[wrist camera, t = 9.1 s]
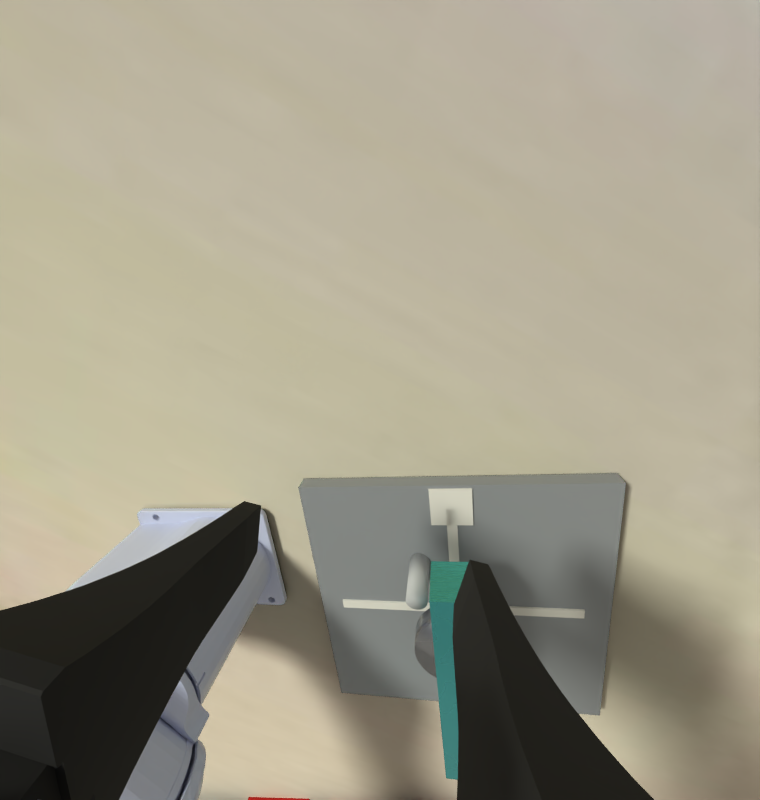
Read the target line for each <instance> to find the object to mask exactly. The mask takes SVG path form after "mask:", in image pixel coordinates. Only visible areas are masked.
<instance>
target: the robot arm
mask: <svg viewBox="0 0 760 800" xmlns="http://www.w3.org/2000/svg"><path fill="white" fill-rule="evenodd" d="M137 516H138V520H139V522H140V525H139V526H138V527H137V528H136V529H135V530H134V531H132V532H131V533H130V534H129V535H128V536H127V537H126V538H124V539H123V540H122V541H121V542H120V543H119V544H118V545H116V546H115V547H114V548H113V549H112V550H111V551H110V552H109V553H107V554H106V555H105V556H104V557H103V558H102V559H101V560H99V561H98V562H97V563H96V564H95V565H94V566H93V567H91V568H90V569H89V570H88V571H87V572H86V573H85V574H83V575H82V576H81V577H80V578H79V579H78V580H77V581H76V582H74V583H73V584H72V585H71V586H70V587H69V588H68V589H67V590H66V591H65V592H63V593H60V594H56V595H53V596H50V597H47V598H44V599H41V600H37V601H34V602H31V603H27V604H23V605H19V606H16V607H12V608H8V609H5V610H1V611H0V800H198V798H199V795H200V791H201V787H202V783H203V775H204V768H205V760H206V751H205V747H204V745H203V743H202V742H201V741H199V740H198V737H199V735H200V733H201V731H202V729H203V727H204V725H205V723H206V721H207V719H208V717H209V713H208V712H207V711H206V710H205V709H204V708H203V707H202V706H201V705H202V703H203V701H204V699H205V698H206V696H207V694H208V692H209V690H210V688H211V687H212V685H213V683H214V681H215V679H216V677H217V675H218V674H219V672H220V670H221V668H222V666H223V664H224V662H225V661H226V659H227V657H228V655H229V653H230V651H231V650H232V648H233V646H234V644H235V642H236V640H237V638H238V637H239V635H240V633H241V631H242V629H243V627H244V626H245V624H246V622H247V620H248V618H249V616H250V614H251V613H252V611H253V609H254V607H255V605H256V604H266V605H283V604H284V603H285V601H286V599H287V596H286V592H285V588H284V584H283V580H282V576H281V572H280V568H279V564H278V560H277V556H276V551H275V547H274V543H273V539H272V535H271V531H270V527H269V523H268V519H267V515H266V513H265V511H264V510H262V509H261V506H260V505H256V504H253V503H249V502H245V501H244V502H242V503H241V504H239V505H237V506H236V507H234V508H144V509H142V510H141V511H139V512H138V514H137ZM272 597H273V598H272ZM452 638H453V654H454V669H455V683H456V698H457V712H458V788H457V800H654V799H653V798H652V797H651V796H650V795H649V794H648V793H647V792H646V791H645V790H644V789H643V788H642V787H641V786H640V785H639V784H638V783H637V782H636V781H635V780H634V778H633V777H632V776H631V775H630V774H629V773H628V772H627V771H626V770H625V769H624V767H623V766H622V765H621V764H620V763H619V762H618V761H617V760H616V758H615V757H614V756H613V755H612V754H611V753H610V752H609V751H608V749H607V748H606V747H605V746H604V745H603V744H602V742H601V741H600V740H599V739H598V738H597V736H596V735H595V734H594V733H593V732H592V730H591V729H590V728H589V727H588V725H587V724H586V723H585V722H584V720H583V719H582V718H581V717H580V715H579V714H578V713H577V712H576V710H575V709H574V708H573V706H572V705H571V704H570V702H569V701H568V700H567V698H566V697H565V696H564V694H563V693H562V692H561V690H560V689H559V687H558V686H557V685H556V683H555V682H554V680H553V679H552V677H551V676H550V675H549V673H548V672H547V670H546V669H545V667H544V666H543V664H542V662H541V661H540V659H539V658H538V656H537V654H536V653H535V651H534V650H533V648H532V646H531V645H530V643H529V641H528V640H527V638H526V636H525V634H524V633H523V631H522V629H521V627H520V625H519V624H518V622H517V620H516V618H515V616H514V615H513V613H512V611H511V609H510V607H509V605H508V603H507V601H506V599H505V597H504V595H503V593H502V591H501V589H500V587H499V585H498V583H497V581H496V579H495V577H494V575H493V572H492V570H491V568H490V567H489V565H488V564H485V563H481V562H477V561H474V560H469V562H468V565H467V568H466V571H465V574H464V577H463V580H462V583H461V585H460V588H459V591H458V594H457V597H456V600H455V603H454V611H453V636H452Z"/></svg>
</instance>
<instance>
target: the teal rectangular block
mask: <svg viewBox="0 0 760 800" xmlns="http://www.w3.org/2000/svg"><path fill="white" fill-rule="evenodd" d="M467 565H468V562H450V561H431V573H430V597H429V603H430V608H429V609H428V610H426V611H425V612H424V613H423V614H422V615H421V616H420V618H419V619H418V622H417V625H416V634H415V655H416V658H417V660H418V662H419V663H420V665H421V666H422V667H423V668H424V669H425V670H426V671H427V672H428V673H429V674H431V675H432V676H434V677H436V678H437V687H438V697H439V708H440V718H441V729H442V739H443V749H444V760H445V770H446V778H448V779H457V780H458V712H457V698H456V683H455V669H454V654H453V638H452V636H453V611H454V603H455V600H456V597H457V594H458V591H459V588H460V585H461V583H462V580H463V577H464V574H465V571H466V568H467Z"/></svg>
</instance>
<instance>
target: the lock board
mask: <svg viewBox="0 0 760 800" xmlns="http://www.w3.org/2000/svg"><path fill="white" fill-rule="evenodd" d="M625 487H626V483H625V481H624V480H623V479H622V478H621V476H620V475H619V474H618V473H599V474H541V475H484V476H426V477H368V478H311V479H303V481H302V483H301V484H300V486H299V487H298V488H299V493H300V497H301V502H302V507H303V512H304V516H305V521H306V526H307V531H308V535H309V540H310V545H311V550H312V554H313V559H314V564H315V569H316V573H317V578H318V583H319V587H320V592H321V597H322V602H323V606H324V611H325V616H326V621H327V625H328V630H329V635H330V640H331V644H332V649H333V654H334V659H335V663H336V668H337V673H338V678H339V682H340V687H341V692H342V693H351V694H363V695H374V696H385V697H397V698H408V699H419V700H431V701H439V697H438V687H437V678H436V677H434V676H432V675H431V674H429V673H428V672H427V671H426V670H425V669H424V668H423V667H422V666H421V665H420V663H419V662H418V660H417V658H416V655H415V634H416V625H417V622H418V619H419V618H420V616H421V615H422V614H423V613H424V612H425V611H426V610H428V609H429V608H430V603H429V597H430V573H431V561H450V562H469V560H474V561H477V562H481V563H485V564H488V565H489V567H490V568H491V570H492V572H493V575H494V577H495V579H496V581H497V583H498V585H499V587H500V589H501V591H502V593H503V595H504V597H505V599H506V601H507V603H508V605H509V607H510V609H511V611H512V613H513V615H514V616H515V618H516V620H517V622H518V624H519V625H520V627H521V629H522V631H523V633H524V634H525V636H526V638H527V640H528V641H529V643H530V645H531V646H532V648H533V650H534V651H535V653H536V654H537V656H538V658H539V659H540V661H541V662H542V664H543V666H544V667H545V669H546V670H547V672H548V673H549V675H550V676H551V677H552V679H553V680H554V682H555V683H556V685H557V686H558V687H559V689H560V690H561V692H562V693H563V694H564V696H565V697H566V698H567V700H568V701H569V702H570V704H571V705H572V706H573V708H574V709H575V710H576V712H577V713H578V714H589V715H600V709H601V700H602V691H603V682H604V673H605V664H606V656H607V647H608V638H609V629H610V620H611V611H612V602H613V593H614V585H615V576H616V567H617V558H618V549H619V540H620V531H621V522H622V513H623V505H624V496H625Z"/></svg>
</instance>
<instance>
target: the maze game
mask: <svg viewBox="0 0 760 800" xmlns="http://www.w3.org/2000/svg"><path fill="white" fill-rule="evenodd" d="M248 800H310V799H296V798H261V797H249V798H248Z"/></svg>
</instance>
